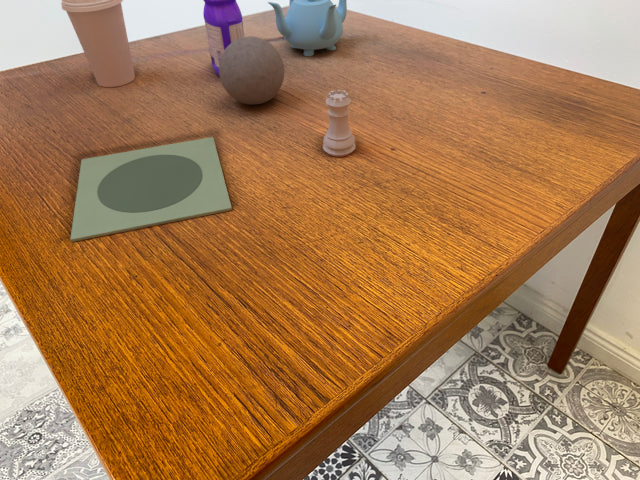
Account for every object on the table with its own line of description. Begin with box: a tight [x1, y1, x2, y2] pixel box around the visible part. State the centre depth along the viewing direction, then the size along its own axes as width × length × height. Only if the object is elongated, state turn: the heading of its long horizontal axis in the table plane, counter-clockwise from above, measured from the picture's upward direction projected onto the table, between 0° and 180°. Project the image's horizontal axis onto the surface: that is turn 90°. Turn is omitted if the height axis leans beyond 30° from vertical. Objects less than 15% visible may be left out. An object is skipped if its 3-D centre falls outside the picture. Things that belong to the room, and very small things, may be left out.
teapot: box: [267, 0, 348, 57], centre depth 97 cm, size 13×13×10 cm
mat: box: [69, 136, 233, 243], centre depth 66 cm, size 18×18×1 cm
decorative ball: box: [218, 36, 285, 106], centre depth 80 cm, size 10×10×10 cm
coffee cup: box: [60, 0, 136, 88], centre depth 88 cm, size 10×10×15 cm
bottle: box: [202, 0, 245, 77], centre depth 87 cm, size 7×6×17 cm
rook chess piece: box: [322, 89, 356, 158], centre depth 68 cm, size 4×4×8 cm
